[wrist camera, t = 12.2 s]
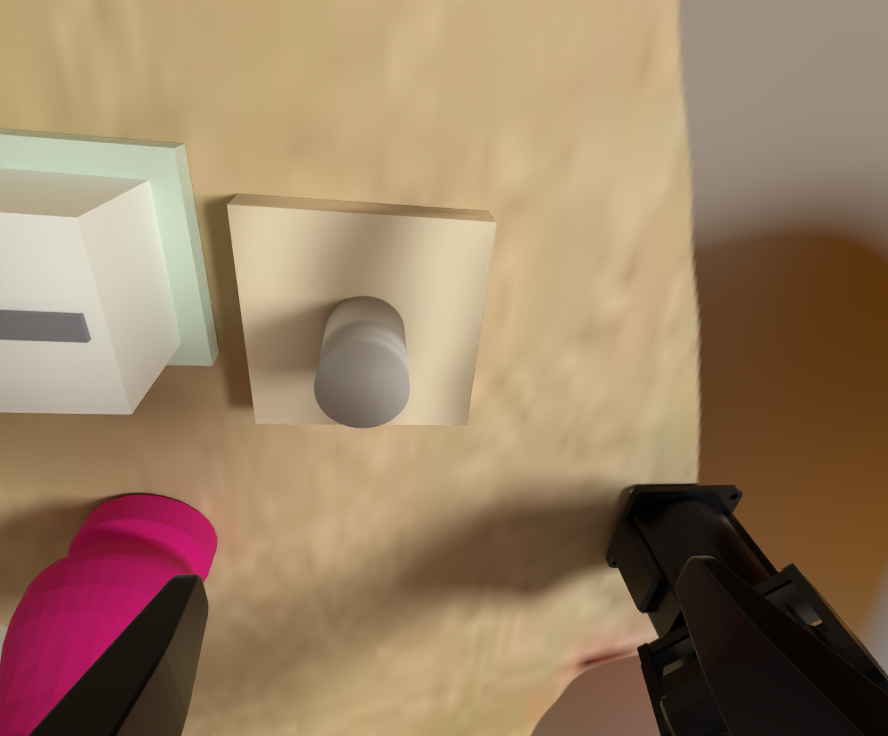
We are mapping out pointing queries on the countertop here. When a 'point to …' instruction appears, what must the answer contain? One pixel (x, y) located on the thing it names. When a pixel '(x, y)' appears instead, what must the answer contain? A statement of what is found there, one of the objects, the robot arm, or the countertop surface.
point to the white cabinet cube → (81, 293)
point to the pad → (171, 206)
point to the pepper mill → (94, 598)
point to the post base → (351, 263)
